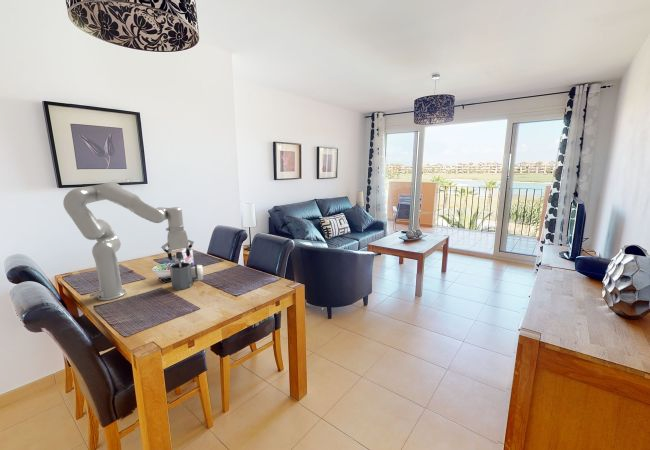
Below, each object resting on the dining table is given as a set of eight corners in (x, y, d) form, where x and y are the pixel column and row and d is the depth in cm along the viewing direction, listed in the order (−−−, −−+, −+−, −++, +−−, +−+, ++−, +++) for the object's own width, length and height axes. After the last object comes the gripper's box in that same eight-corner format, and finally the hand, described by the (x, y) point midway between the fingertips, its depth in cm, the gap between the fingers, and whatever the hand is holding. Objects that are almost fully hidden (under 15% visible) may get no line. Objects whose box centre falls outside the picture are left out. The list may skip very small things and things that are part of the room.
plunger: (177, 288, 164) (173, 255, 160) (173, 284, 169) (169, 252, 165) (191, 284, 169) (188, 252, 165) (186, 280, 174) (183, 249, 170)
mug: (193, 281, 176) (192, 269, 174) (188, 277, 183) (187, 265, 181) (205, 278, 181) (204, 266, 179) (199, 274, 187) (198, 263, 186)
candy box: (185, 279, 180) (182, 254, 177) (175, 278, 181) (173, 254, 177) (195, 271, 194) (193, 248, 191) (186, 271, 194) (184, 248, 191)
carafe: (176, 291, 162) (173, 269, 159) (170, 286, 169) (167, 265, 167) (201, 284, 172) (199, 264, 169) (194, 279, 179) (192, 260, 176)
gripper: (161, 232, 154) (165, 262, 157) (194, 227, 166) (197, 256, 169) (157, 230, 159) (161, 259, 162) (189, 225, 171) (192, 253, 174)
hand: (179, 257), depth 166 cm, fingers open, 9 cm apart
